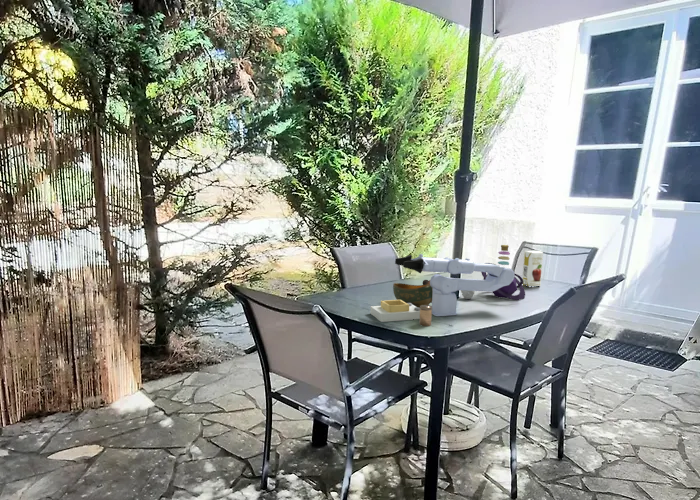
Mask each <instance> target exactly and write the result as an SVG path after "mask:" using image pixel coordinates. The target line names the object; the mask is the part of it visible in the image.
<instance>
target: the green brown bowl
mask: <svg viewBox="0 0 700 500" xmlns="http://www.w3.org/2000/svg"><path fill="white" fill-rule="evenodd" d="M392 285H393V287H392V290H393V295H394V297H395V300H402V301H404V302H405V303H412V305H414V306H416V307H418V308H420V306H421V305H431V304H432V293H433V290H432V289H433V288H432V287H431V285H430V284H426V285H423V284H418V285H417V284H416V285H415V284H407V283H403V282H402V283H400V282H394V283H393V284H392Z"/></svg>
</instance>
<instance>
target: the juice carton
mask: <svg viewBox="0 0 700 500" xmlns="http://www.w3.org/2000/svg"><path fill="white" fill-rule="evenodd" d="M543 258H544V251H540V250H524V254H523V265H522V276H521V278H522V279H523V285H527V286H540V287H541V285H542V273H543ZM523 285H522V286H523Z"/></svg>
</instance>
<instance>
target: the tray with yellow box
mask: <svg viewBox="0 0 700 500" xmlns="http://www.w3.org/2000/svg"><path fill="white" fill-rule="evenodd" d="M370 314H371V316H373V317H374V318H376V319H377V321H379V322H381V323H383V322H385V323H386V322H396V321H411V320H412V321H413V319H414V320H420V308H419V307H416V306H414V305H412V303H405V302H404V301H402V300H397V299H389V300H380V305H376V306H375V305H371V306H370Z"/></svg>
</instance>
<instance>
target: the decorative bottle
mask: <svg viewBox="0 0 700 500" xmlns="http://www.w3.org/2000/svg"><path fill="white" fill-rule="evenodd" d="M500 247H501V248H500V250H501V251H498V254H499V255H502V256H498V257H497V259H498V260H500V261H498V262H497V264H498V265H502V266H509V265H510V262H509V260H510V257H509V255H510V254H511V253H510V251H509V245H508V244H501V245H500ZM483 264H493V265H497V264H496V263H490V262H485V263H483ZM480 273H481V275H482V278H483V279H482V280H485V279H486V277H487V275H488V273H487V272H480ZM514 274H515V276H514V279H513V281H512V282H511V283H510V285H507V286H503V287H501V288H499V289H497V290H495V291H493V292H492V294H493V295H494V297H496V298H499V297H500V299H501V298H502V299H507V298H508V299H511V300H515V301H520V300H519V299H522V300H523V299H525V297H526V291H525V288H524V286H523V285H522V284H523V279H522V276H520V275H519V274H517V273H515V272H514ZM518 279H519V280H518ZM518 288H519V293H518V294H517V295H515V292H517V291H518Z"/></svg>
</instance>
